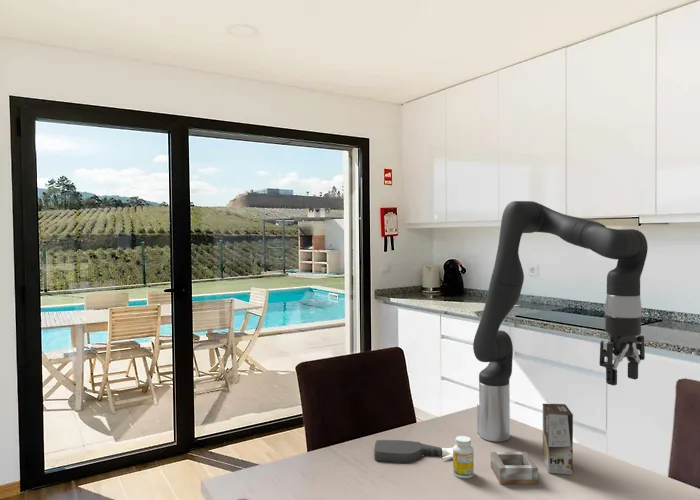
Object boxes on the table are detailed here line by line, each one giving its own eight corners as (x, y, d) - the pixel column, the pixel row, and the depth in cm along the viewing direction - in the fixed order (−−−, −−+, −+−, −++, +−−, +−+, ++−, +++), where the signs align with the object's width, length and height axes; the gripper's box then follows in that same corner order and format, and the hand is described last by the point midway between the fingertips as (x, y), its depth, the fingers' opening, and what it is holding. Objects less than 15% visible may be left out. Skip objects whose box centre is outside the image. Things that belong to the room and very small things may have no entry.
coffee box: (573, 475, 135) (573, 414, 135) (548, 473, 137) (547, 413, 136) (566, 460, 144) (566, 403, 144) (542, 458, 146) (542, 402, 145)
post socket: (500, 484, 131) (499, 468, 131) (490, 467, 141) (490, 452, 141) (537, 484, 131) (537, 467, 131) (526, 467, 141) (526, 451, 140)
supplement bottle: (471, 480, 134) (471, 444, 133) (451, 476, 136) (451, 441, 135) (475, 471, 139) (475, 436, 138) (455, 468, 141) (455, 433, 140)
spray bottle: (375, 447, 156) (457, 450, 154) (373, 463, 145) (461, 467, 143) (375, 437, 156) (457, 441, 153) (373, 453, 145) (461, 457, 143)
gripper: (625, 309, 128) (624, 373, 129) (589, 314, 121) (589, 382, 122) (656, 313, 122) (655, 380, 122) (620, 319, 114) (619, 390, 115)
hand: (622, 381), depth 122 cm, fingers open, 8 cm apart
